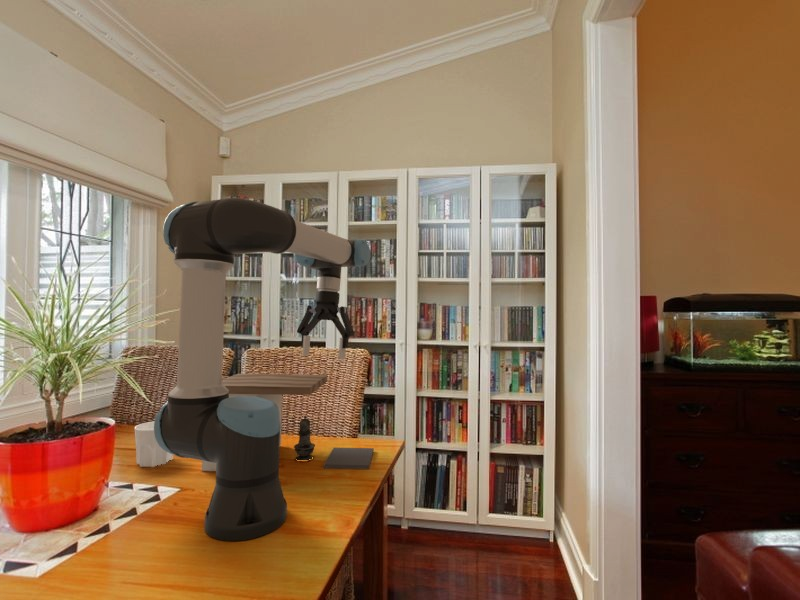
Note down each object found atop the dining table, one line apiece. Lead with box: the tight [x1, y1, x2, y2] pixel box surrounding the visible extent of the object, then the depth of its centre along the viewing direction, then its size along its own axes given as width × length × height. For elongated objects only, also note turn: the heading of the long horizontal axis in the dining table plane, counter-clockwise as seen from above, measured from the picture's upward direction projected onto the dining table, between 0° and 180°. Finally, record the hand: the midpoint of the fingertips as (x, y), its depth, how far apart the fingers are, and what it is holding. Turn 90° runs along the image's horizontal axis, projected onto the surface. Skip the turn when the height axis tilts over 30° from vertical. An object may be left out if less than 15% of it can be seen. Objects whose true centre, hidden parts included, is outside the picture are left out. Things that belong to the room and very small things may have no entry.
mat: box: [323, 446, 375, 470], centre depth 116 cm, size 14×12×1 cm
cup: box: [134, 420, 174, 468], centre depth 112 cm, size 10×10×10 cm
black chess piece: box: [293, 415, 316, 460], centre depth 116 cm, size 6×6×12 cm
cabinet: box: [201, 373, 328, 472], centre depth 117 cm, size 22×28×22 cm
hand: (323, 357), depth 131 cm, fingers open, 13 cm apart
